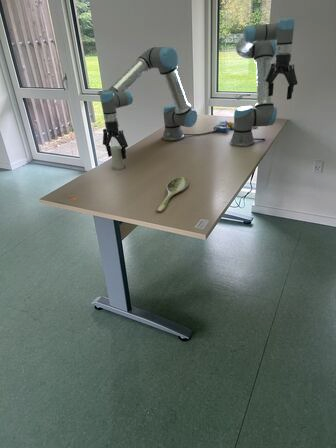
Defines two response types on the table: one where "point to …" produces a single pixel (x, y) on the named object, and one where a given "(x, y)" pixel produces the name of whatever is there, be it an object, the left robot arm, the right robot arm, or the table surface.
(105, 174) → the table surface
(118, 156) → the canister
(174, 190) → the spoon
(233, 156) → the table surface
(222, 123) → the spray gun
